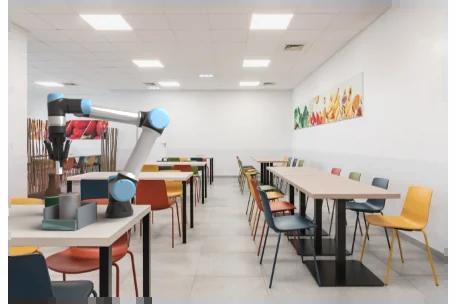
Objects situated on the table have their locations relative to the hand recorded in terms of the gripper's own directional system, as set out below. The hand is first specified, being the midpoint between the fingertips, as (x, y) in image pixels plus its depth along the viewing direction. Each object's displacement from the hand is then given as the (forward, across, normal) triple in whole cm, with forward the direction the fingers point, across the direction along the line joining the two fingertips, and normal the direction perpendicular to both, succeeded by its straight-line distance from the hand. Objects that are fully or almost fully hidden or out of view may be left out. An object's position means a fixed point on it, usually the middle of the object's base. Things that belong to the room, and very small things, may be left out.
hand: (59, 174), depth 145 cm
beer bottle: (+26, +20, -27) cm, 43 cm away
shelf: (+26, -3, -2) cm, 26 cm away
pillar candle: (+24, -2, -4) cm, 25 cm away
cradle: (+26, -3, -4) cm, 26 cm away
